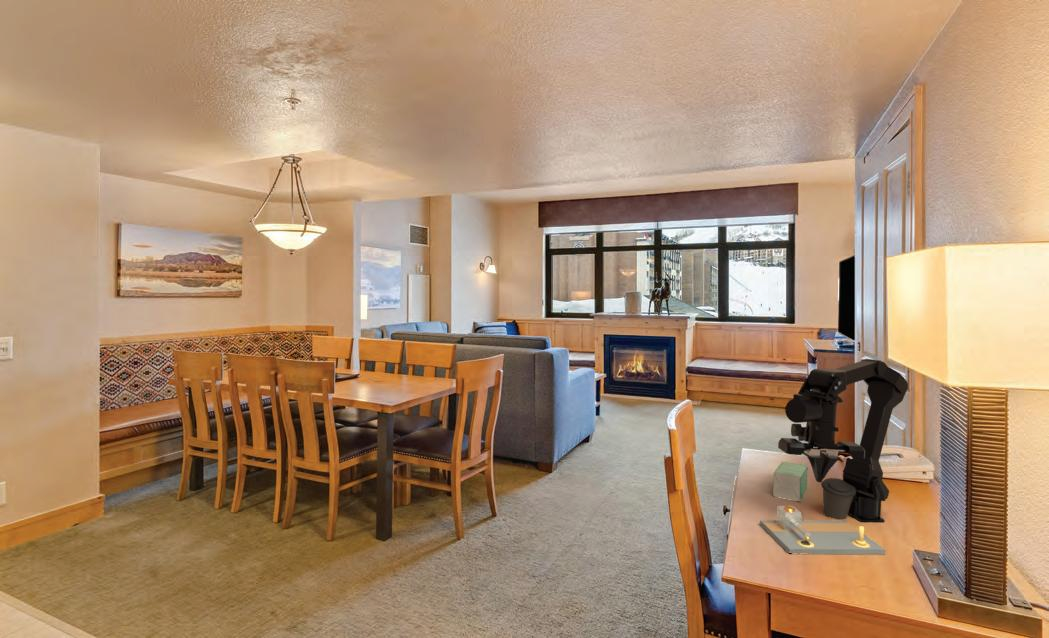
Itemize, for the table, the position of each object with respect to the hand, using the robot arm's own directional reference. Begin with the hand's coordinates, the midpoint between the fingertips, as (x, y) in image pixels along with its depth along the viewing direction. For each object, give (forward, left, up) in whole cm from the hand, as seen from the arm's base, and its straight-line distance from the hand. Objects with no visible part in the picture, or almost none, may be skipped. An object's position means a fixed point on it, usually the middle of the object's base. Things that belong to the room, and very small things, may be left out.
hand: (818, 481), depth 133 cm
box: (-6, -25, -13) cm, 29 cm away
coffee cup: (-10, -9, -13) cm, 19 cm away
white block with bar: (+8, +5, -11) cm, 14 cm away
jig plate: (+2, +5, -12) cm, 13 cm away
